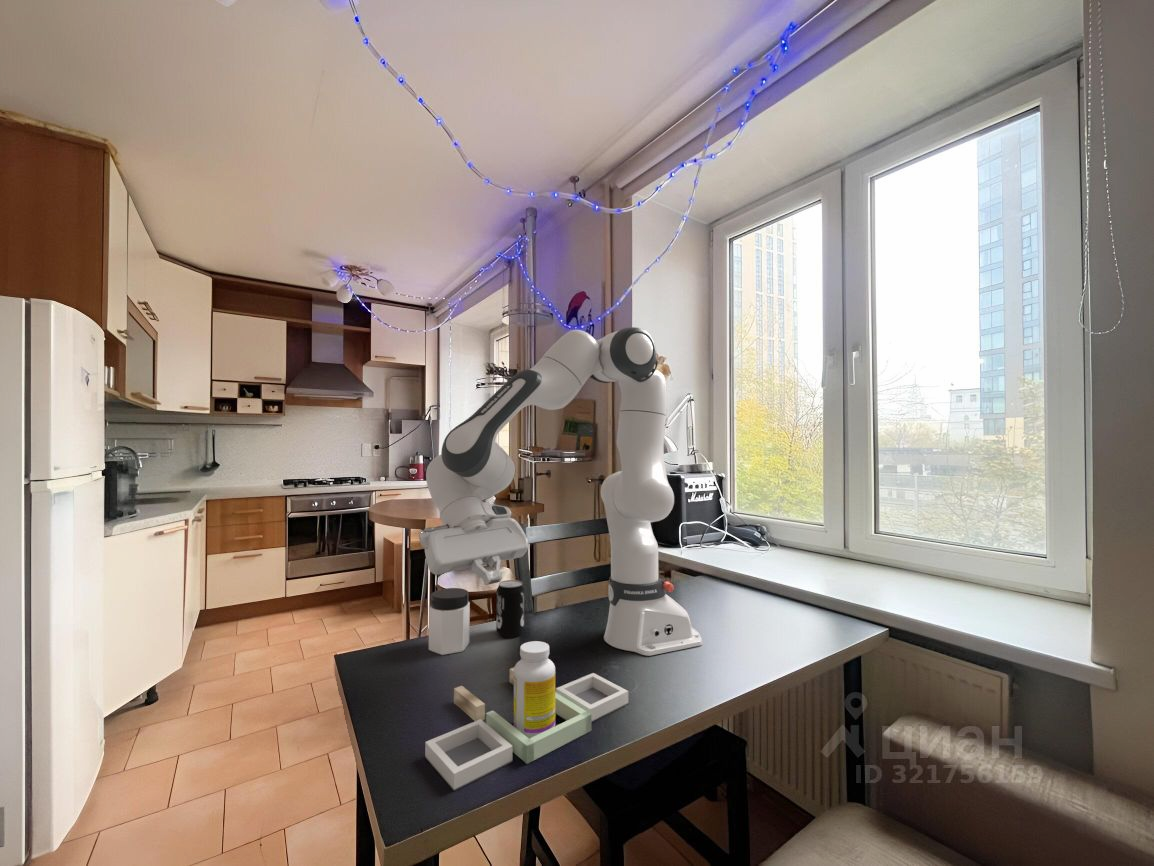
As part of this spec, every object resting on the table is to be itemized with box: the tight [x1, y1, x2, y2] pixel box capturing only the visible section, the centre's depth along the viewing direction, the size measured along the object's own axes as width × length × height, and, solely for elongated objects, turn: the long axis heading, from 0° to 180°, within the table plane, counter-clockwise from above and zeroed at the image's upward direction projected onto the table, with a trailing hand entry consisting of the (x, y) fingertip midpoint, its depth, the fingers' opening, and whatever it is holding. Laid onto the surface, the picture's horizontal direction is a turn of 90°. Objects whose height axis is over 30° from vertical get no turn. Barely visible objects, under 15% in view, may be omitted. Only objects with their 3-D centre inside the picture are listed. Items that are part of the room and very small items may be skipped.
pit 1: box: [424, 719, 514, 792], centre depth 69 cm, size 9×9×2 cm
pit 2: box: [555, 672, 629, 723], centre depth 85 cm, size 9×9×2 cm
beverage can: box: [495, 579, 525, 639], centre depth 116 cm, size 7×7×12 cm
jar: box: [428, 587, 471, 656], centre depth 108 cm, size 9×8×12 cm
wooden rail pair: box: [453, 666, 515, 722], centre depth 86 cm, size 8×13×2 cm, turn 131°
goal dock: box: [485, 691, 593, 765], centre depth 77 cm, size 11×12×2 cm
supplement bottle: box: [513, 640, 556, 739], centre depth 77 cm, size 7×7×13 cm
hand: (494, 581), depth 88 cm, fingers closed
